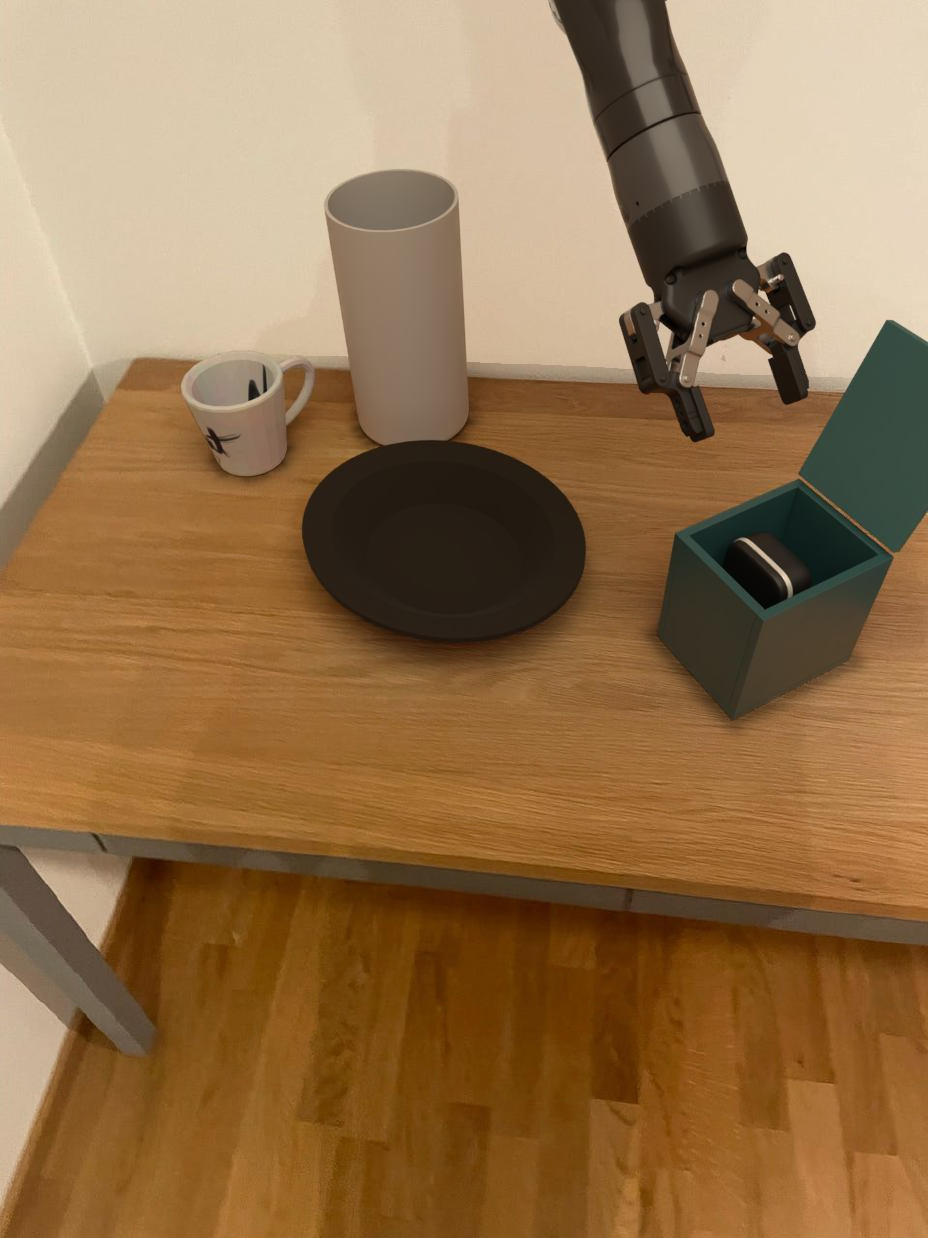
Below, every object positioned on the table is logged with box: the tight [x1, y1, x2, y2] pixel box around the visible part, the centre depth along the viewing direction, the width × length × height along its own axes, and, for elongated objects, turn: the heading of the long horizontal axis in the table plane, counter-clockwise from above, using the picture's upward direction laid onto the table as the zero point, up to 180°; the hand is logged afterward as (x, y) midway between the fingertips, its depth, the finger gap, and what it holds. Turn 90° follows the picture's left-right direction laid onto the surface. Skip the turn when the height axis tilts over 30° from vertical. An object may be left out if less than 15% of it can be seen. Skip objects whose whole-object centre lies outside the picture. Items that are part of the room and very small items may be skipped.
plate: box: [301, 440, 587, 644], centre depth 87 cm, size 28×24×6 cm
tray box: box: [656, 478, 895, 721], centre depth 77 cm, size 13×11×13 cm
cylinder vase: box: [323, 168, 470, 446], centre depth 95 cm, size 12×12×25 cm
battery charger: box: [722, 531, 812, 610], centre depth 76 cm, size 7×4×11 cm, turn 28°
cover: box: [797, 319, 928, 554], centre depth 69 cm, size 14×11×1 cm
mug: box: [180, 350, 316, 477], centre depth 99 cm, size 10×15×10 cm
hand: (751, 419), depth 68 cm, fingers open, 8 cm apart
